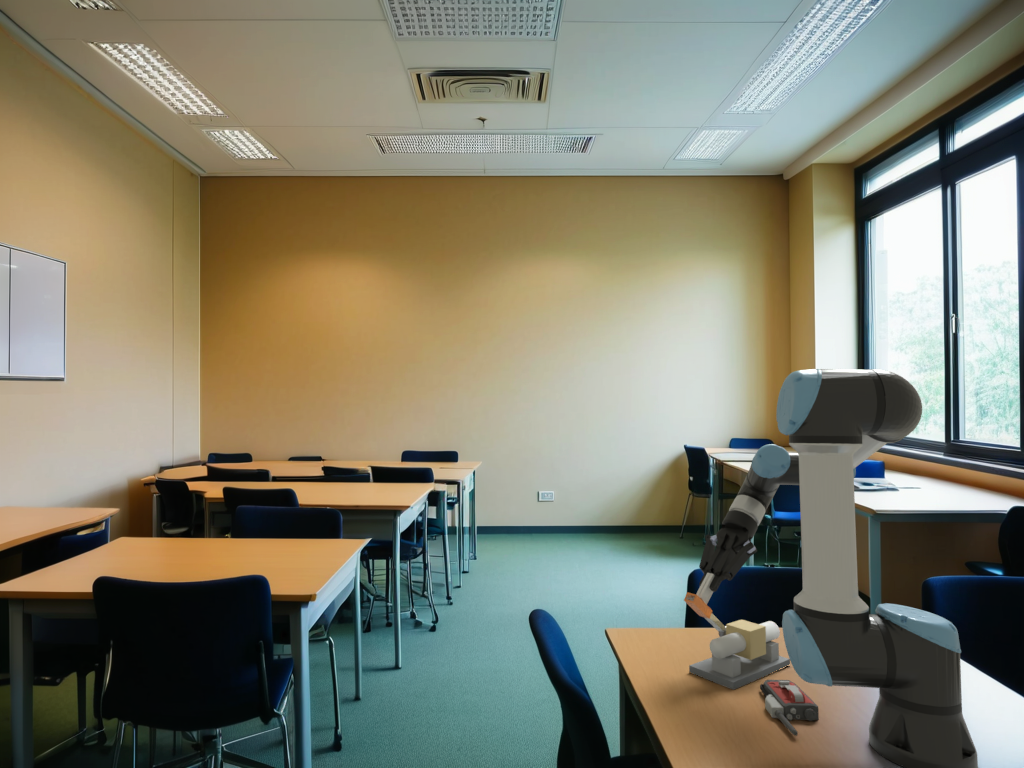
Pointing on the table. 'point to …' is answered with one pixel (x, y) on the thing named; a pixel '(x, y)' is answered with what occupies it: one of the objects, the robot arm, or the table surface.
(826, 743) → the table surface
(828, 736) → the table surface
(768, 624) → the valve rig
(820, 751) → the table surface
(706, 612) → the valve lever
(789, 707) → the walkie-talkie
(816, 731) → the table surface
